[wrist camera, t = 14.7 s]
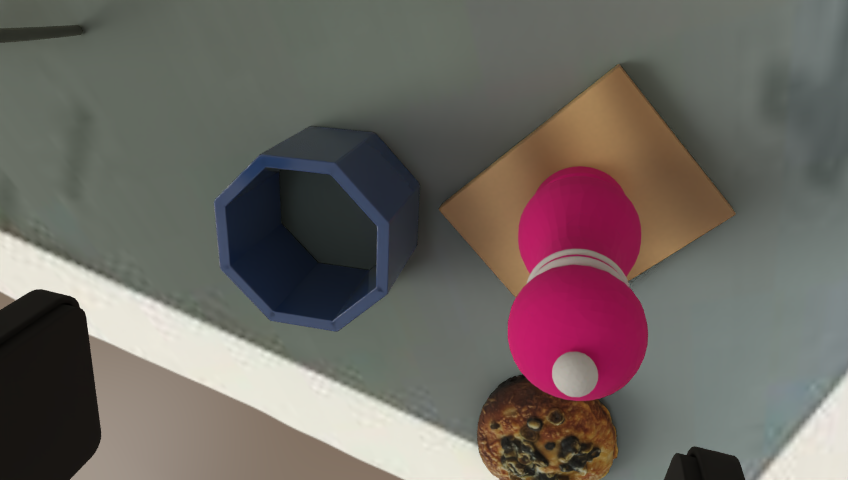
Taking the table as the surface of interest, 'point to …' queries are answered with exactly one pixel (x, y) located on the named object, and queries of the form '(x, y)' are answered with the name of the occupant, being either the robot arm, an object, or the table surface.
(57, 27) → the juicer
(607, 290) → the pepper mill
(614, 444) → the bread roll
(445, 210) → the oak board
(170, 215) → the table surface
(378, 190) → the utensil crock
